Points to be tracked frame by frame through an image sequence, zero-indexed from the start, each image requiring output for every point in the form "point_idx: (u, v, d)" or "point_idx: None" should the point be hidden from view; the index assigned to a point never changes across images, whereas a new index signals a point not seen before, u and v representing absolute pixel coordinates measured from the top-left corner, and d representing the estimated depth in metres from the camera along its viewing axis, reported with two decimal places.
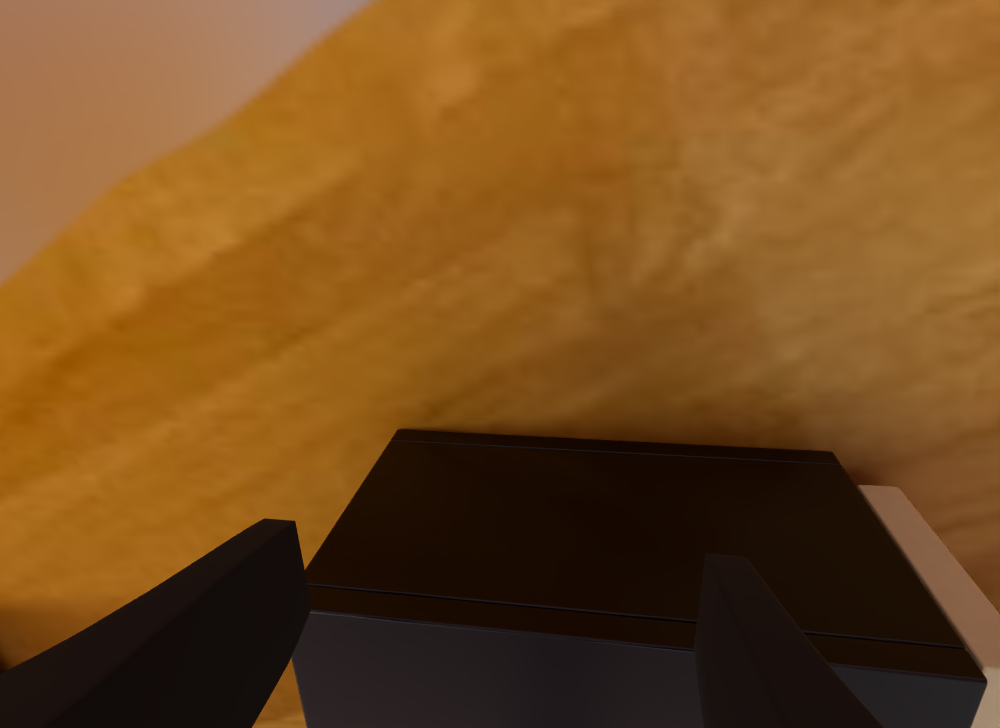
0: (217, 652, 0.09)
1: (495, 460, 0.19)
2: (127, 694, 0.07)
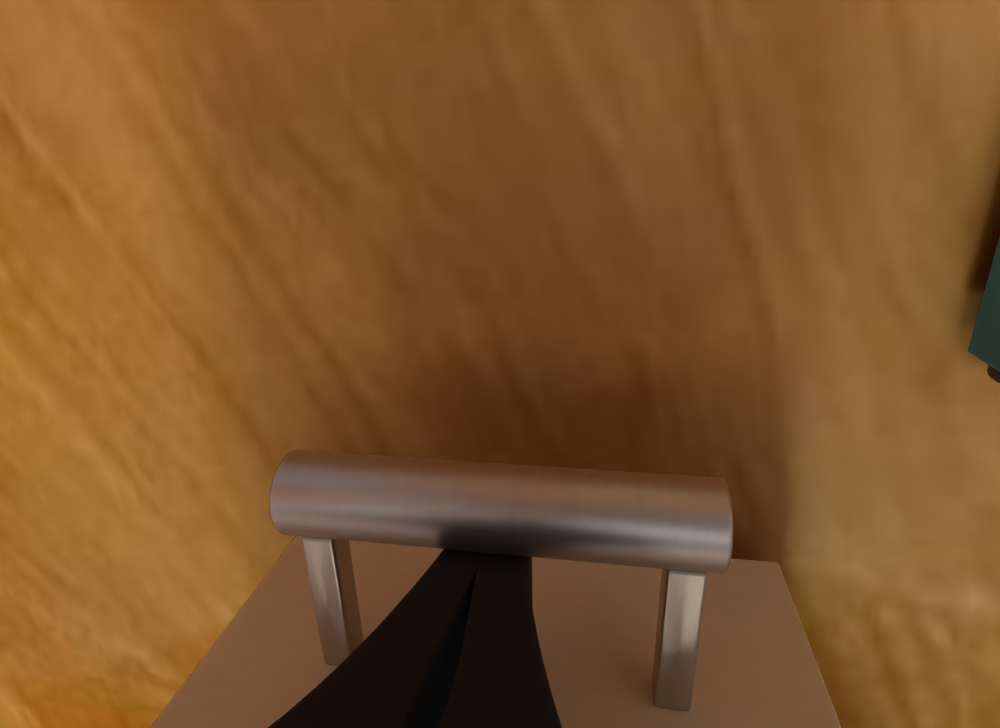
0: None
1: None
2: None
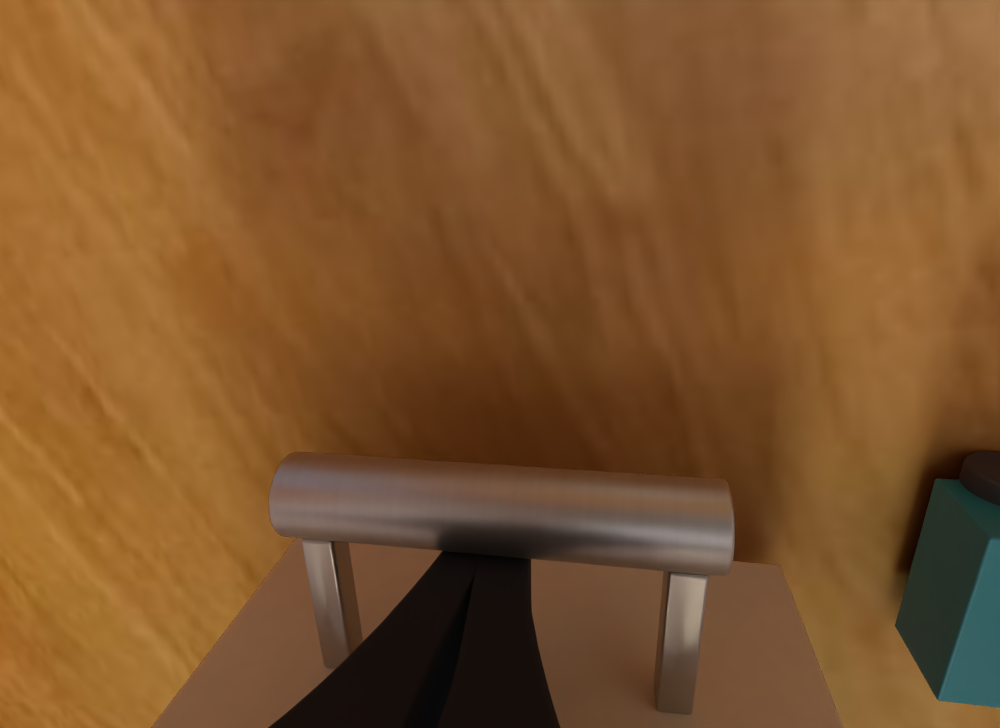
0: None
1: None
2: None
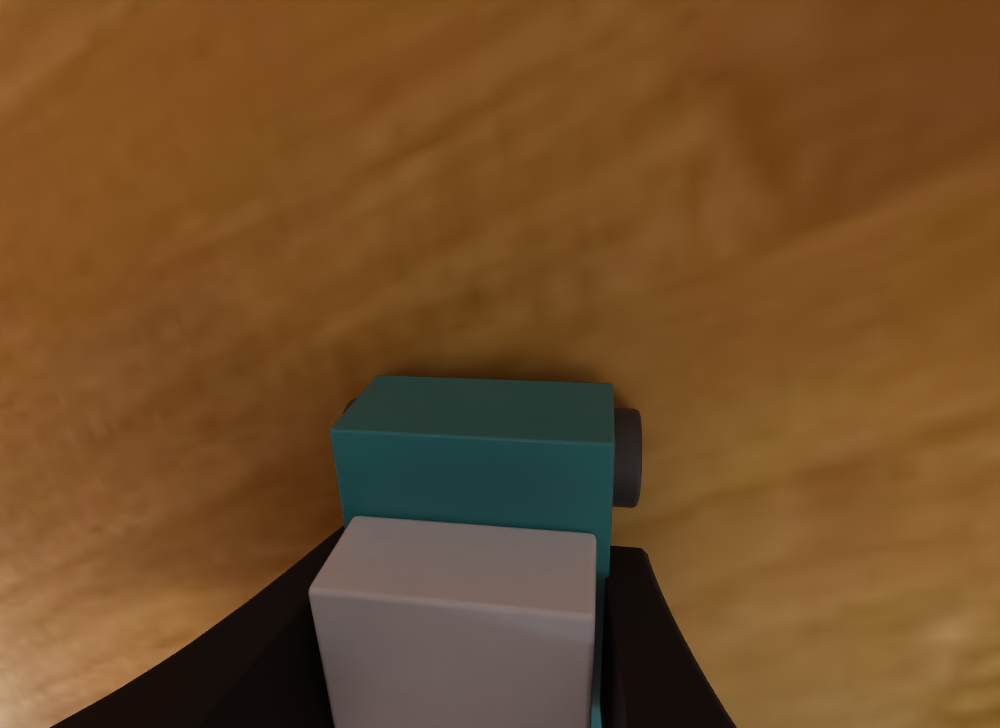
0: (315, 665, 0.08)
1: None
2: (244, 710, 0.07)
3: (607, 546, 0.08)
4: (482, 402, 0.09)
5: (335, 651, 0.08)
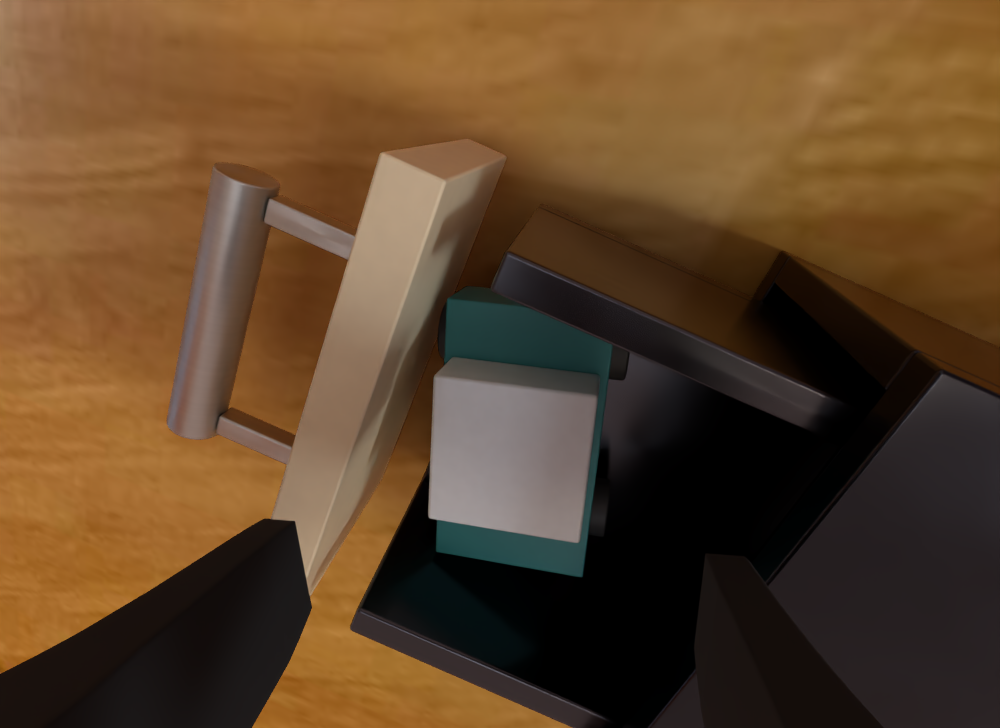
0: (217, 652, 0.09)
1: None
2: (127, 694, 0.07)
3: (606, 385, 0.14)
4: None
5: (442, 418, 0.13)
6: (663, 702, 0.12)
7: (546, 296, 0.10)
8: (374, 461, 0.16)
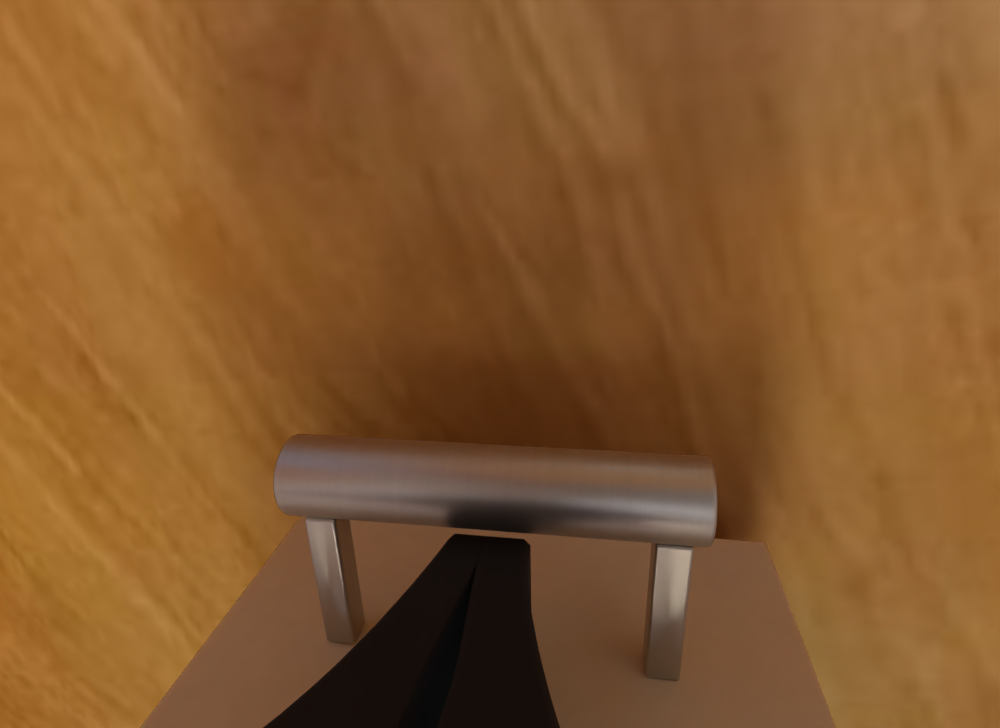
0: (451, 681, 0.08)
1: None
2: None
3: None
4: None
5: None
6: None
7: None
8: None
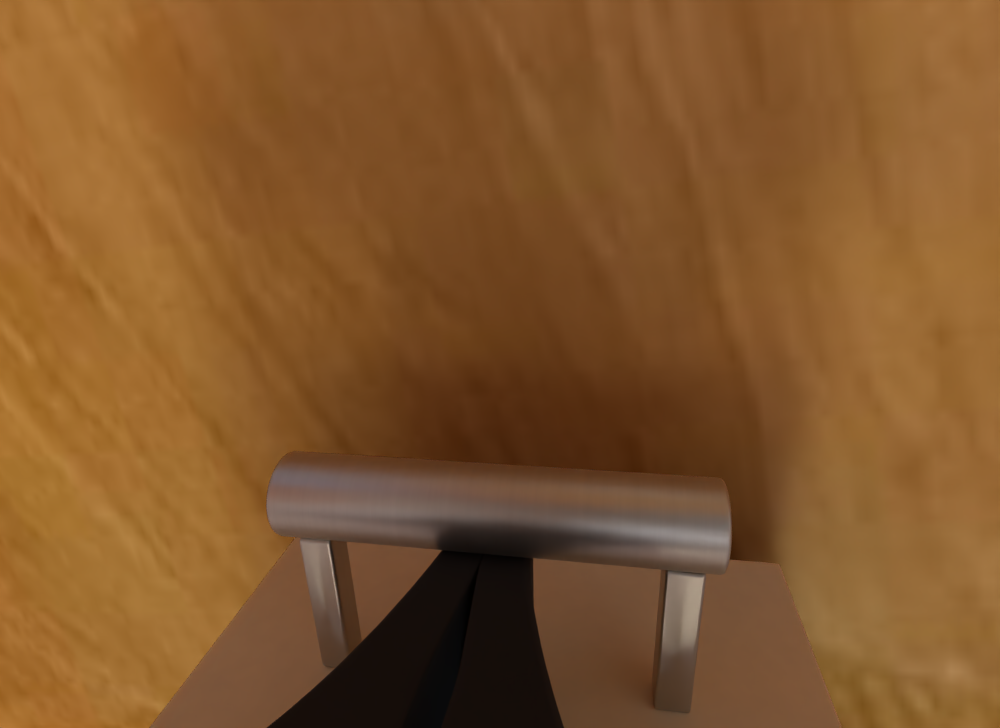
0: (453, 681, 0.08)
1: None
2: None
3: None
4: None
5: None
6: None
7: None
8: None
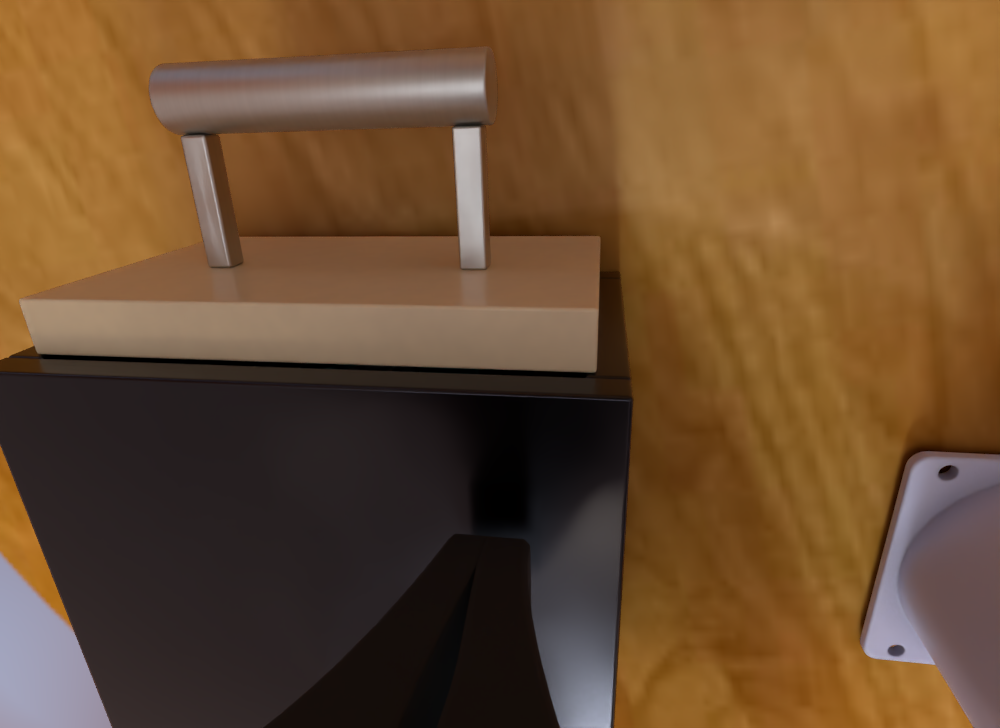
0: (451, 680, 0.08)
1: None
2: None
3: None
4: None
5: None
6: (171, 375, 0.11)
7: None
8: None
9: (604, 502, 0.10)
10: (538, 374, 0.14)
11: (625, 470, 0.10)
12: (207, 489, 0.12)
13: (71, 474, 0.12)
